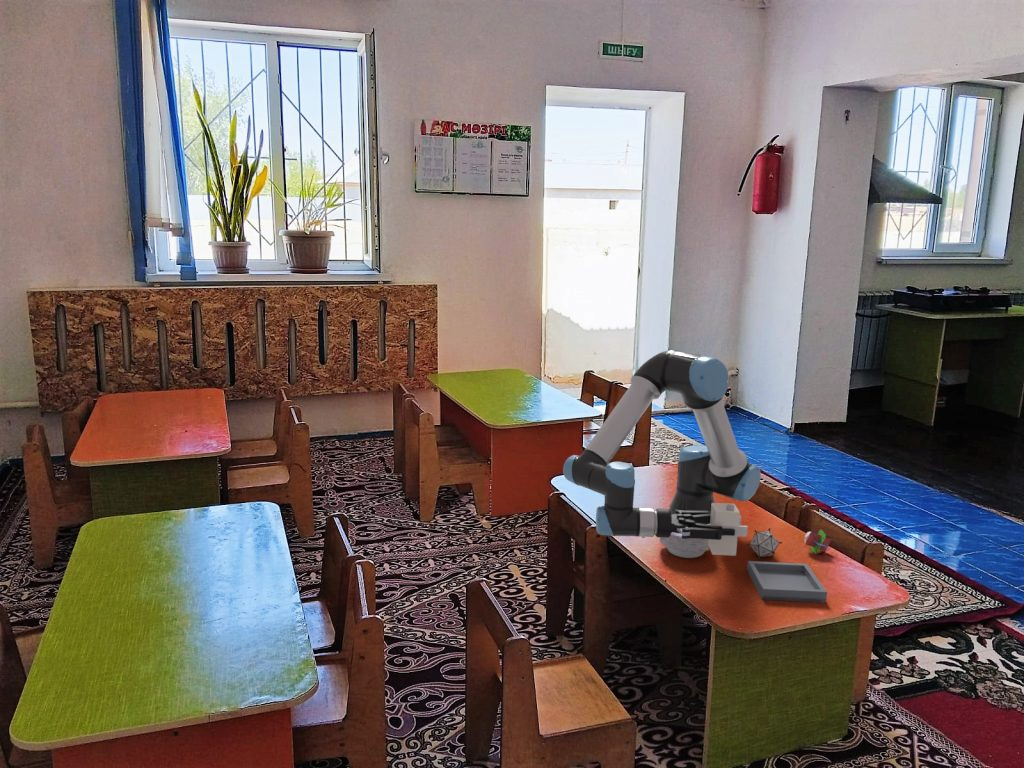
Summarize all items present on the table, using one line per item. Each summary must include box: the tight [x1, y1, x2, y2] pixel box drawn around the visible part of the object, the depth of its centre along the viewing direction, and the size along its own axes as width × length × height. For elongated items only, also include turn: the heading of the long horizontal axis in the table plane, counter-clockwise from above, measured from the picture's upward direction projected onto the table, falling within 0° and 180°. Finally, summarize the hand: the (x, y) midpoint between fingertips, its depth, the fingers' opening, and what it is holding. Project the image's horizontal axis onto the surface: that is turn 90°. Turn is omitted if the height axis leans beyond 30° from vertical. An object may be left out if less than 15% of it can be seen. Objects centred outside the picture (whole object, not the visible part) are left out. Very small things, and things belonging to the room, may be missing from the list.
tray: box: [746, 560, 828, 604], centre depth 203 cm, size 16×16×3 cm
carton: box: [708, 502, 741, 556], centre depth 202 cm, size 6×6×13 cm
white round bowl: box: [659, 524, 710, 559], centre depth 222 cm, size 15×15×8 cm
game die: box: [746, 527, 783, 560], centre depth 220 cm, size 9×8×10 cm
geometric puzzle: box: [803, 528, 832, 555], centre depth 224 cm, size 7×7×8 cm
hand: (743, 525), depth 201 cm, fingers closed on carton, 6 cm apart
